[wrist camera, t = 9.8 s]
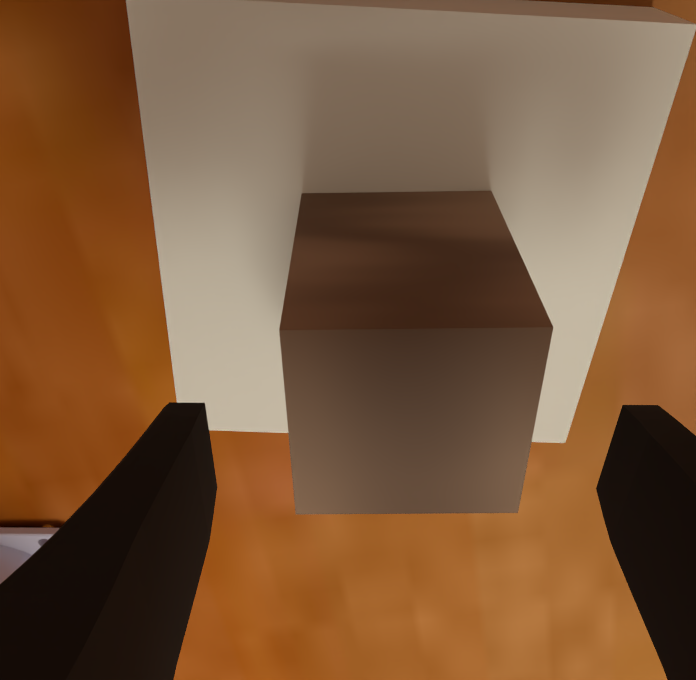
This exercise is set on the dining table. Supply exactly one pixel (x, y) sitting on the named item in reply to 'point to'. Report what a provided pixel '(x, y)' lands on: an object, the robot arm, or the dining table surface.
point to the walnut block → (409, 355)
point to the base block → (390, 157)
